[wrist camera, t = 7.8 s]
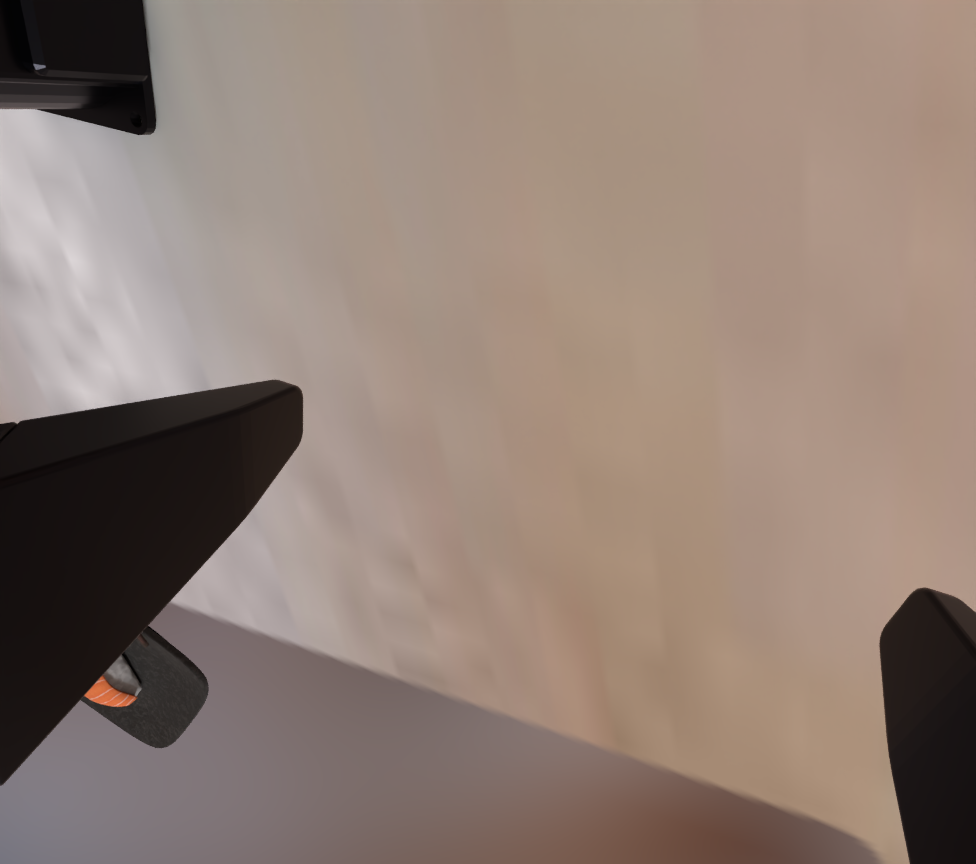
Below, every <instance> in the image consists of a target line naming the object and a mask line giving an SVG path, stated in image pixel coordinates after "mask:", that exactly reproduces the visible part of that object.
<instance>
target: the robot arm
mask: <svg viewBox="0 0 976 864" xmlns="http://www.w3.org/2000/svg"><path fill="white" fill-rule="evenodd" d="M0 109H37V110H41V111H45V112H49V113H53V114H57V115H61V116H65V117H69V118H73V119H77V120H81V121H85V122H89V123H93V124H97V125H101V126H105V127H109V128H113V129H117V130H121V131H125V132H129V133H133V134H137V135H149V134H152V133H153V132H154V131H155V128H156V119H155V111H154V102H153V93H152V85H151V76H150V68H149V59H148V51H147V42H146V33H145V25H144V16H143V8H142V0H0ZM139 116H140V117H141V120H142V124H141V123H140V121H139ZM302 434H303V394H302V391H301V389H300V388H299V387H298V386H295V385H292V384H289V383H286V382H283V381H280V380H269V381H262V382H256V383H250V384H244V385H238V386H232V387H226V388H219V389H213V390H207V391H201V392H195V393H189V394H183V395H177V396H170V397H164V398H158V399H152V400H146V401H140V402H134V403H127V404H121V405H115V406H109V407H103V408H97V409H91V410H84V411H78V412H72V413H66V414H60V415H54V416H48V417H42V418H35V419H29V420H23V421H20V422H19V423H18V424H17V423H15V422H10V423H4V424H0V786H1V785H3V784H4V783H5V782H6V781H7V780H8V779H9V778H10V777H11V775H12V774H13V773H14V772H15V771H16V770H17V769H18V768H19V767H20V766H21V764H22V763H23V762H24V761H25V760H26V759H27V758H28V757H29V756H30V755H31V754H32V752H33V751H34V750H35V749H36V748H37V747H38V746H39V745H40V744H41V742H42V741H43V740H44V739H45V738H46V737H47V736H48V735H49V734H50V733H51V732H52V730H53V729H54V728H55V727H56V726H57V725H58V724H59V723H60V722H61V721H62V719H63V718H64V717H65V716H66V715H67V714H68V713H69V712H70V711H71V710H72V708H73V707H74V706H75V705H76V704H77V703H78V702H79V701H80V700H81V699H82V697H83V696H84V695H85V694H86V693H87V692H88V691H89V690H90V689H91V688H92V686H93V685H94V684H95V683H96V682H97V681H98V680H99V679H100V678H101V677H102V676H103V674H104V673H105V672H106V671H107V670H108V669H109V668H110V667H111V666H112V665H113V663H114V662H115V661H116V660H117V659H118V658H119V657H120V656H121V655H122V654H123V652H124V651H125V650H126V649H127V648H128V647H129V646H130V645H131V644H132V643H133V641H134V640H135V639H136V638H137V637H138V636H139V635H140V634H141V633H142V632H143V630H144V629H145V628H146V627H147V626H148V625H149V624H150V622H152V621H153V619H154V618H155V617H156V616H157V615H158V614H159V613H160V612H161V611H162V609H163V608H164V607H165V606H166V605H167V604H168V603H169V602H170V601H171V600H172V599H173V598H174V596H175V595H176V594H177V593H178V592H179V591H180V590H181V589H182V588H183V587H184V585H185V584H186V583H187V582H188V581H189V580H190V579H191V578H192V577H193V576H194V574H195V573H196V572H197V571H198V570H199V569H200V568H201V567H202V566H203V565H204V563H205V562H206V561H207V560H208V559H209V558H210V557H211V556H212V555H213V554H214V552H215V551H216V550H217V549H218V548H219V547H220V546H221V545H222V544H223V543H224V541H225V540H226V539H227V538H228V537H229V536H230V535H231V534H232V533H233V532H234V530H235V529H236V528H237V527H238V526H239V525H240V524H241V522H242V521H243V520H244V519H245V518H246V517H247V515H248V514H249V513H250V512H251V510H252V509H253V508H254V506H255V505H256V504H257V502H258V501H259V500H260V498H261V497H262V496H263V494H264V493H265V491H266V490H267V489H268V487H269V486H270V484H271V483H272V482H273V480H274V479H275V478H276V476H277V475H278V473H279V472H280V471H281V469H282V468H283V467H284V465H285V464H286V462H287V461H288V460H289V458H290V457H291V456H292V454H293V453H294V451H295V450H296V449H297V447H298V446H299V444H300V441H301V438H302ZM880 658H881V671H882V684H883V696H884V709H885V722H886V734H887V743H888V752H889V758H890V764H891V770H892V776H893V781H894V786H895V791H896V796H897V801H898V806H899V811H900V816H901V821H902V826H903V831H904V836H905V841H906V846H907V852H908V857H909V862H910V864H976V612H974V611H973V610H972V609H971V608H970V607H968V606H967V605H966V604H965V603H964V602H962V601H961V600H960V599H958V598H956V597H954V596H951V595H948V594H945V593H942V592H939V591H936V590H932V589H929V588H919V589H917V590H915V591H913V592H912V593H911V594H910V595H909V597H908V598H907V599H906V600H905V602H904V603H903V604H902V605H901V607H900V608H899V609H898V610H897V612H896V613H895V614H894V615H893V617H892V618H891V619H890V620H889V622H888V623H887V624H886V625H885V627H884V629H883V631H882V633H881V637H880Z"/></svg>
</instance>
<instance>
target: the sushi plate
mask: <svg viewBox="0 0 976 864" xmlns="http://www.w3.org/2000/svg"><path fill="white" fill-rule="evenodd" d="M207 695H208V682H207V679H206V677H205V676H204V674H203V673H202V672H201V670H200V669H198V667H197V666H196V665H195V664H194V663H193V662H191V660H189V659H188V658H187V657H186V656H185V655H184V654H182V653H181V652H180V651H179V650H177V649H176V648H175V647H174V646H172V645H171V644H170V643H169V642H168V641H167V640H166V639H164V638H163V637H162V636H161V635H160V634H158V633H157V632H156V631H154V630H153V629H152V628H151V627H149V626H147V627H146V628H145V629H144V630H143V632H142V633H141V634H140V635H139V636H138V637H137V638H136V639H135V640H134V641H133V643H132V644H131V645H130V646H129V647H128V648H127V649H126V650H125V651H124V652H123V654H122V655H121V656H120V657H119V658H118V659H117V660H116V661H115V662H114V663H113V665H112V666H111V667H110V668H109V669H108V670H107V671H106V672H105V673H104V674H103V676H102V677H101V678H100V679H99V680H98V681H97V682H96V683H95V684H94V685H93V686H92V688H91V689H90V690H89V691H88V692H87V693H86V694H85V695H84V696H83V697H82V699H81V701H83V702H85V703H86V704H87V705H88V706H90V707H91V708H93V709H94V710H96V711H97V712H98V713H100V714H101V715H103V716H104V717H105V718H107V719H108V720H110V721H111V722H113V723H114V724H116V725H117V726H118V727H120V728H121V729H123V730H124V731H126V732H127V733H129V734H130V735H132V736H133V737H135V738H137V739H138V740H140V741H142V742H144V743H146V744H148V745H150V746H152V747H155V748H164V747H167V746H169V745H171V744H172V743H174V742H175V741H176V740H177V739H178V738H179V737H180V736H181V734H182V733H183V732H184V731H185V730H186V728H187V727H188V726H189V725H190V723H191V722H192V720H193V719H194V718H195V717H196V715H197V714H198V712H199V711H200V709H201V708H202V706H203V705H204V703H205V701H206V698H207Z"/></svg>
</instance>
